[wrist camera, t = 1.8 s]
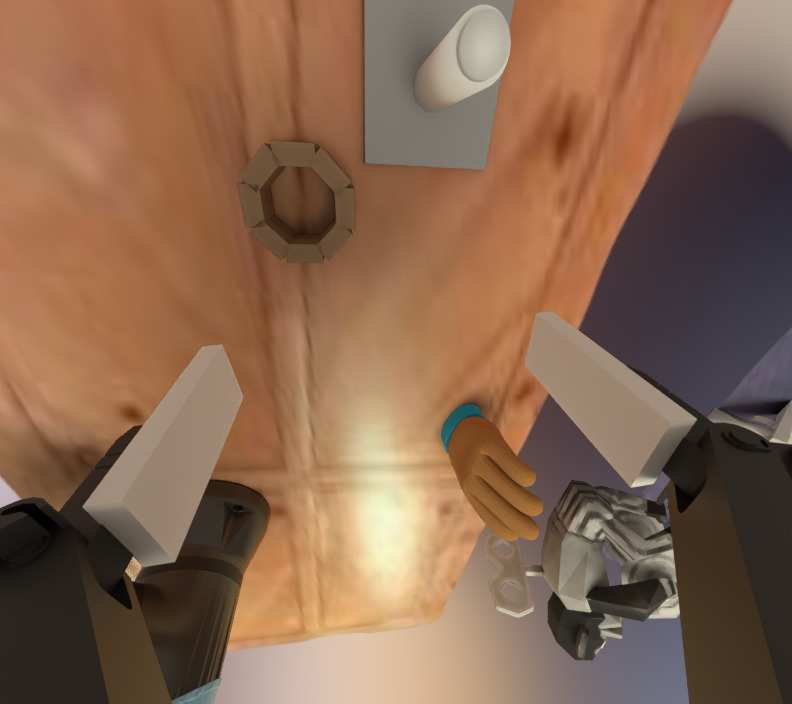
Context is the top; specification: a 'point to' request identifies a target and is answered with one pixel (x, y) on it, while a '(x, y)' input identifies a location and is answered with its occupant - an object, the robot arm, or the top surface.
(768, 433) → the handgun
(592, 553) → the toy
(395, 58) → the wall coat peg
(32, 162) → the top surface
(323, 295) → the top surface
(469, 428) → the orange glove
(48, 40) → the top surface
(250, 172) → the ring
